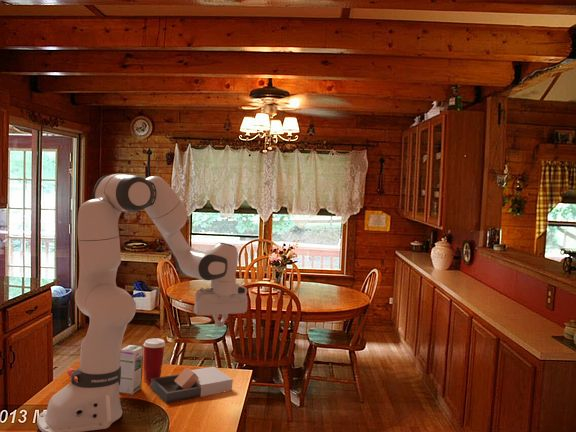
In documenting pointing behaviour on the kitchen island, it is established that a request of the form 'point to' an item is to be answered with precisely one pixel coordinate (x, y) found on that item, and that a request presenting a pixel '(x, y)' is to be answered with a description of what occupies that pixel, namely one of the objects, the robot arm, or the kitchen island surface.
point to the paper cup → (153, 358)
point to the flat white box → (212, 381)
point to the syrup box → (131, 369)
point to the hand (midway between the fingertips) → (219, 326)
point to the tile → (186, 379)
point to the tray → (173, 389)
